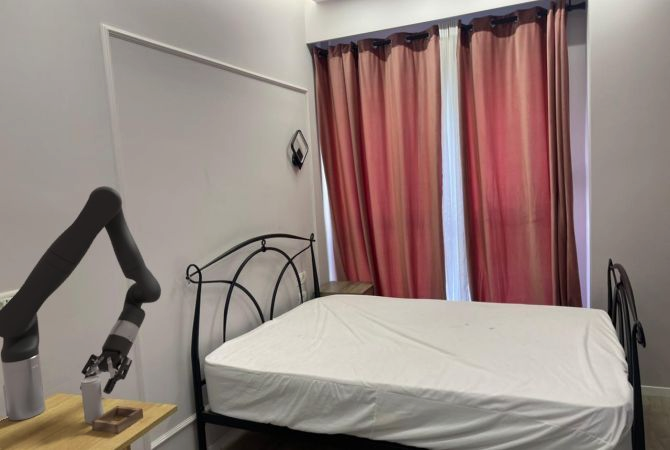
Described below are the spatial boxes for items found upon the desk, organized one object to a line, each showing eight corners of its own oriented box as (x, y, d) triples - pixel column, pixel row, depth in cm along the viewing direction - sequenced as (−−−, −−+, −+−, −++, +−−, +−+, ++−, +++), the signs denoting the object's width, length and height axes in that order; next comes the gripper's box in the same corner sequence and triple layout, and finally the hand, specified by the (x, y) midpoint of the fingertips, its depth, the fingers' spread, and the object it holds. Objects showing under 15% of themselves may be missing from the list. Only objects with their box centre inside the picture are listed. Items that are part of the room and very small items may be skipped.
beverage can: (96, 425, 128) (91, 382, 127) (81, 424, 129) (76, 382, 128) (108, 416, 132) (103, 375, 132) (93, 415, 133) (88, 375, 133)
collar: (92, 430, 125) (91, 420, 125) (118, 414, 134) (117, 405, 133) (119, 433, 122) (118, 424, 122) (143, 417, 130) (142, 408, 130)
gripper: (94, 332, 140) (66, 384, 131) (132, 334, 136) (105, 388, 126) (110, 343, 146) (84, 394, 136) (147, 345, 141) (122, 398, 131)
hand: (94, 391), depth 131 cm, fingers open, 8 cm apart
